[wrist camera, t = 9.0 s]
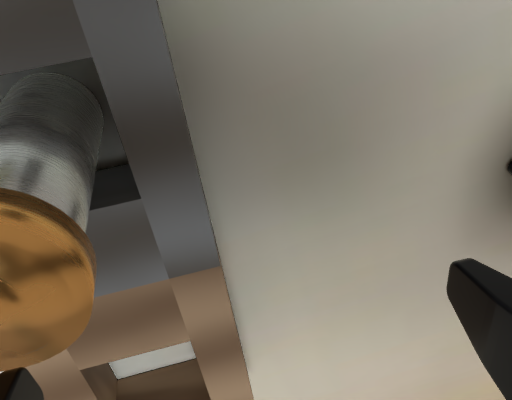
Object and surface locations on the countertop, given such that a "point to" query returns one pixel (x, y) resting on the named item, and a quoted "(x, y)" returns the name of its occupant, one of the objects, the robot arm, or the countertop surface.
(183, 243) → the pin dock plate
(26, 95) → the lock pin
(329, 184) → the countertop surface
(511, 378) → the robot arm
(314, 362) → the countertop surface
